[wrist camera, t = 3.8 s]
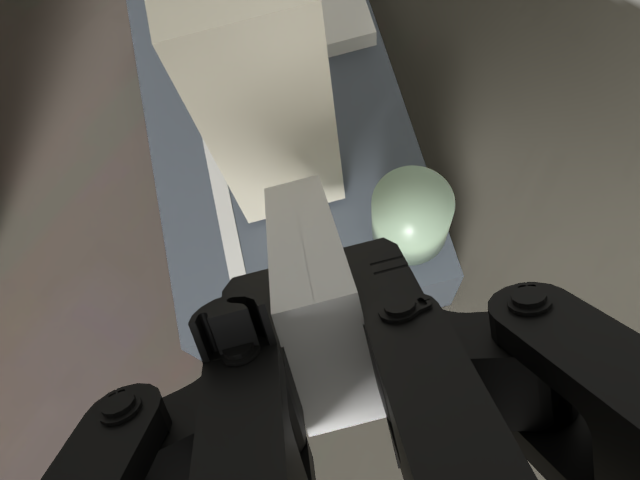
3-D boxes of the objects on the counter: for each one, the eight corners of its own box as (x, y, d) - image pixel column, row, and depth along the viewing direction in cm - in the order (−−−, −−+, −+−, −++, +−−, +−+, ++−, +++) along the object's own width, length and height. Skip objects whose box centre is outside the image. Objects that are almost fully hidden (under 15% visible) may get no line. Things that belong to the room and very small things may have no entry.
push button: (457, 254, 21) (466, 229, 18) (383, 273, 21) (384, 250, 18) (434, 188, 22) (440, 156, 19) (363, 206, 22) (361, 177, 19)
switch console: (450, 304, 24) (467, 269, 20) (211, 366, 24) (174, 345, 20) (340, -29, 31) (334, -112, 26) (151, 20, 31) (112, -55, 26)
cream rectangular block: (345, 198, 22) (320, 0, 12) (248, 223, 22) (151, 44, 12) (329, 141, 23) (295, -84, 13) (236, 165, 23) (137, -43, 13)
